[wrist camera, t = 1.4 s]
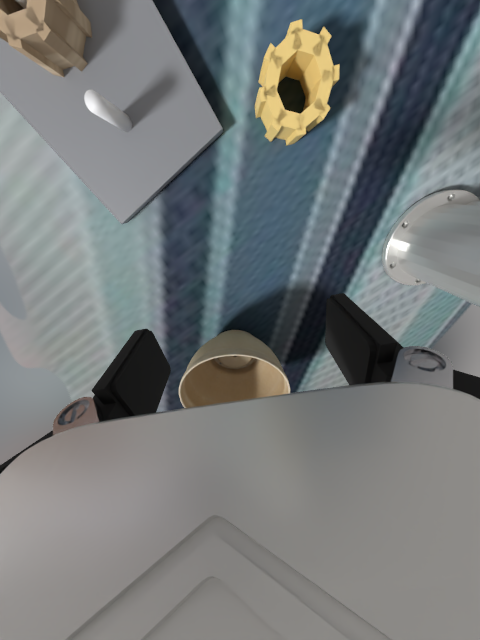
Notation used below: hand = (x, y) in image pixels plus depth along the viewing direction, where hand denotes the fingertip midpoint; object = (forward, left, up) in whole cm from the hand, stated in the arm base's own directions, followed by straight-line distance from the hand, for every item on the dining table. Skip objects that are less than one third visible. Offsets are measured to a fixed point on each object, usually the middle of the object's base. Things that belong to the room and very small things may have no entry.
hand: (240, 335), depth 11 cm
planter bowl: (+11, +15, -22) cm, 29 cm away
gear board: (+2, -21, -21) cm, 30 cm away
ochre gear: (-13, -9, -21) cm, 27 cm away
